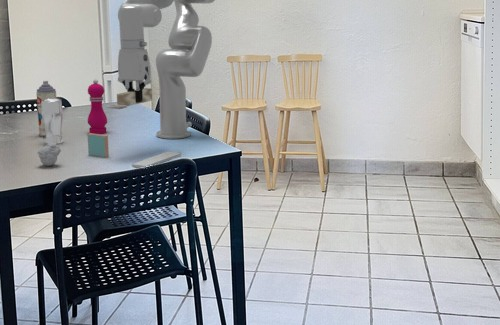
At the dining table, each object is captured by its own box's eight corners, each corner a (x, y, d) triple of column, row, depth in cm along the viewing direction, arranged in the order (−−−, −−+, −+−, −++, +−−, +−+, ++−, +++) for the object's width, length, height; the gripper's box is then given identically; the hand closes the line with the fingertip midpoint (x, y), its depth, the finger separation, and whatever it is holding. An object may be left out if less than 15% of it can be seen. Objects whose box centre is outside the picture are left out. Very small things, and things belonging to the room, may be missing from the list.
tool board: (167, 153, 216) (167, 151, 216) (180, 155, 214) (180, 153, 213) (132, 166, 199) (132, 164, 199) (145, 168, 197) (145, 166, 197)
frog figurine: (61, 167, 198) (60, 144, 196) (37, 168, 196) (35, 145, 195) (62, 162, 204) (61, 140, 202) (39, 163, 202) (37, 141, 200)
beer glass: (58, 139, 236) (55, 97, 232) (68, 142, 231) (65, 100, 228) (40, 142, 231) (37, 99, 228) (50, 145, 226) (47, 102, 223)
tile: (91, 154, 215) (90, 133, 213) (108, 156, 212) (107, 135, 210) (88, 155, 213) (87, 134, 212) (105, 157, 210) (104, 136, 209)
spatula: (142, 99, 224) (142, 87, 223) (155, 100, 222) (155, 88, 221) (106, 108, 207) (105, 95, 206) (119, 109, 204) (118, 96, 204)
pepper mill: (105, 134, 245) (102, 80, 240) (86, 134, 245) (83, 80, 240) (109, 130, 252) (107, 78, 247) (90, 130, 252) (88, 78, 247)
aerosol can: (38, 134, 244) (34, 80, 239) (57, 133, 247) (54, 79, 242) (40, 137, 238) (36, 82, 233) (59, 136, 241) (56, 81, 236)
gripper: (159, 44, 211) (162, 101, 216) (119, 42, 218) (122, 98, 223) (146, 47, 204) (149, 105, 209) (105, 45, 211) (108, 101, 216)
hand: (135, 101), depth 216 cm, fingers closed on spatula, 2 cm apart
